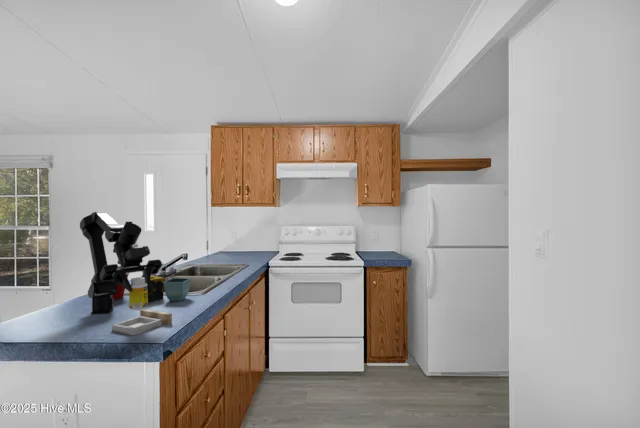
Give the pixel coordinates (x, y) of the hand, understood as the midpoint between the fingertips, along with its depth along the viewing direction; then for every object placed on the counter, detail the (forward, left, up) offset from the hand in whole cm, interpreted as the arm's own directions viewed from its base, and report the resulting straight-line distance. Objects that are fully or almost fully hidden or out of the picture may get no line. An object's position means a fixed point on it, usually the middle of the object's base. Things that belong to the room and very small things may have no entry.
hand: (140, 289), depth 113 cm
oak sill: (+4, +6, -13) cm, 15 cm away
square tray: (-1, +1, -13) cm, 13 cm away
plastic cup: (-18, +50, -13) cm, 55 cm away
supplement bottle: (-1, +1, -7) cm, 7 cm away
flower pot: (+9, +37, -13) cm, 40 cm away
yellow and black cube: (-4, +42, -14) cm, 44 cm away
